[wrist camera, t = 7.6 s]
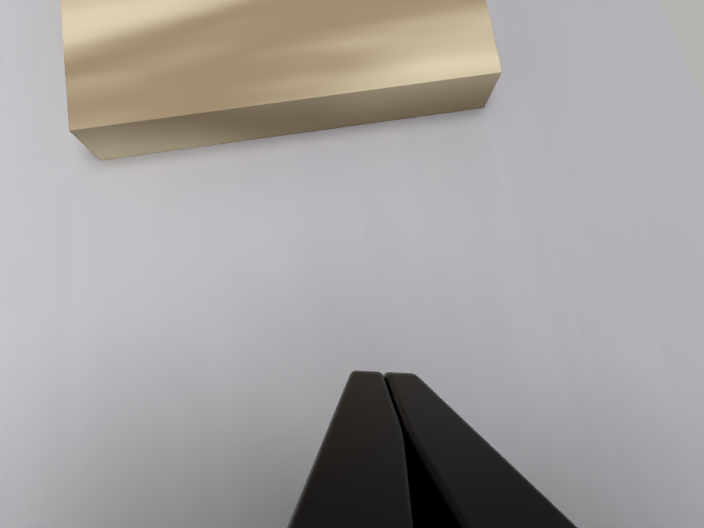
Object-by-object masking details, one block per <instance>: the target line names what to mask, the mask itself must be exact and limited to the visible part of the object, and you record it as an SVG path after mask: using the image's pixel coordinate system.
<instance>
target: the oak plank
mask: <svg viewBox="0 0 704 528" xmlns="http://www.w3.org/2000/svg"><path fill="white" fill-rule="evenodd" d="M60 2H61V17H62V31H63V46H64V61H65V75H66V90H67V105H68V119H69V131H70V132H71V133H72V134H73V135H74V136H75V137H76V138H77V139H78V140H79V141H80V142H81V143H83V144H84V145H85V146H86V147H87V148H88V149H89V150H90V151H91V152H92V153H93V154H94V155H95V156H96V157H97V158H98V159H99V160H107V159H114V158H121V157H129V156H136V155H143V154H151V153H158V152H165V151H172V150H180V149H187V148H194V147H202V146H209V145H216V144H223V143H231V142H238V141H245V140H253V139H260V138H267V137H274V136H282V135H289V134H296V133H304V132H311V131H318V130H325V129H333V128H340V127H347V126H355V125H362V124H369V123H376V122H384V121H391V120H398V119H406V118H413V117H420V116H427V115H435V114H442V113H449V112H457V111H464V110H471V109H478V108H484V106H485V104H486V102H487V100H488V98H489V96H490V94H491V92H492V90H493V88H494V87H495V85H496V83H497V81H498V79H499V77H500V75H501V73H502V71H501V67H500V62H499V58H498V53H497V49H496V44H495V40H494V35H493V31H492V27H491V22H490V18H489V13H488V9H487V4H486V0H60Z"/></svg>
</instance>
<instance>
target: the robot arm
mask: <svg viewBox="0 0 704 528" xmlns="http://www.w3.org/2000/svg"><path fill="white" fill-rule="evenodd" d="M287 528H577V527H576V526H575V525H574V524H573V523H572V522H571V521H570V520H569V519H568V518H567V517H566V516H565V515H564V514H563V513H562V512H561V511H559V510H558V509H557V508H556V507H555V506H554V505H553V504H552V503H551V502H550V501H549V500H548V499H547V498H546V497H545V496H544V495H543V494H541V493H540V492H539V491H538V490H537V489H536V488H535V487H534V486H533V485H532V484H531V483H530V482H529V481H528V480H527V479H526V478H525V477H524V476H522V475H521V474H520V473H519V472H518V471H517V470H516V469H515V468H514V467H513V466H512V465H511V464H510V463H509V462H508V461H507V460H506V459H505V458H503V457H502V456H501V455H500V454H499V453H498V452H497V451H496V450H495V449H494V448H493V447H492V446H491V445H490V444H489V443H488V442H487V441H485V440H484V439H483V438H482V437H481V436H480V435H479V434H478V433H477V432H476V431H475V430H474V429H473V428H472V427H471V426H470V425H469V424H468V423H466V422H465V421H464V420H463V419H462V418H461V417H460V416H459V415H458V414H457V413H456V412H455V411H454V410H453V409H452V408H451V407H450V406H449V405H447V404H446V403H445V402H444V401H443V400H442V399H441V398H440V397H439V396H438V395H437V394H436V393H435V392H434V391H433V390H432V389H431V388H430V387H428V386H427V385H426V384H425V383H424V382H423V381H422V380H421V379H420V378H419V377H418V376H416V375H415V374H412V373H392V372H388V373H386V374H385V375H384V376H383V374H382V373H380V372H372V371H353V372H352V373H351V374H350V376H349V378H348V381H347V383H346V386H345V388H344V390H343V393H342V395H341V398H340V400H339V403H338V405H337V408H336V410H335V412H334V415H333V417H332V420H331V422H330V425H329V427H328V430H327V432H326V434H325V437H324V439H323V442H322V444H321V447H320V449H319V452H318V454H317V456H316V459H315V461H314V464H313V466H312V469H311V471H310V474H309V476H308V478H307V481H306V483H305V486H304V488H303V491H302V493H301V495H300V498H299V500H298V503H297V505H296V508H295V510H294V513H293V515H292V517H291V520H290V522H289V525H288V527H287Z"/></svg>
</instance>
